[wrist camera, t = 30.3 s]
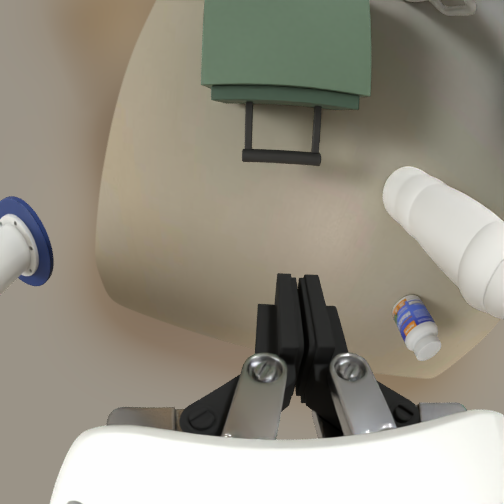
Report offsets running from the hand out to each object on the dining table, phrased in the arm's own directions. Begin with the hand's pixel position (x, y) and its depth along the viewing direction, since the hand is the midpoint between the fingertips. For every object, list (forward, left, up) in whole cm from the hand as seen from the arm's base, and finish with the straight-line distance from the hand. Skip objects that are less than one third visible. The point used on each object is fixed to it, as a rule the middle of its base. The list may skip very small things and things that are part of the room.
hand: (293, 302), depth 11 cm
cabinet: (0, +17, -21) cm, 27 cm away
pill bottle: (+22, -18, -21) cm, 36 cm away
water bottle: (+16, 0, -21) cm, 27 cm away
